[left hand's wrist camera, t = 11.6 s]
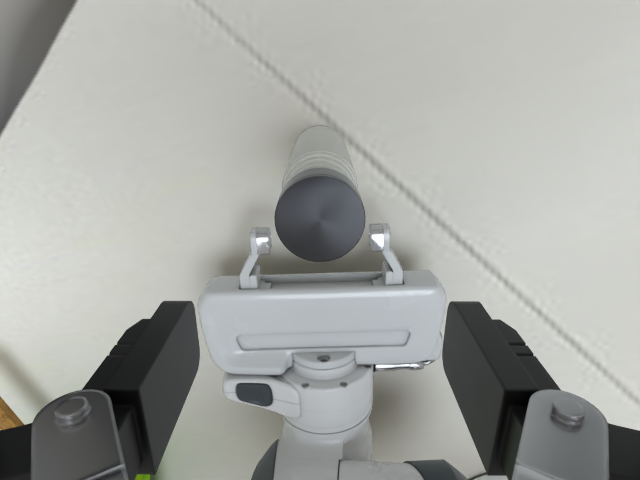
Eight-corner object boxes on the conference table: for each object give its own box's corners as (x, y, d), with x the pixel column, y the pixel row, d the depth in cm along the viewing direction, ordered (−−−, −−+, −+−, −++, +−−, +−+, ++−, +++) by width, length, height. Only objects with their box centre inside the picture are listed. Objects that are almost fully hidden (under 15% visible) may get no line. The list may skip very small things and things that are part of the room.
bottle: (321, 113, 37) (323, 150, 20) (357, 154, 38) (386, 220, 21) (282, 150, 38) (252, 215, 21) (318, 188, 39) (317, 278, 22)
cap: (322, 149, 21) (322, 156, 20) (378, 210, 23) (383, 223, 21) (260, 206, 22) (255, 218, 21) (317, 262, 24) (317, 278, 22)
